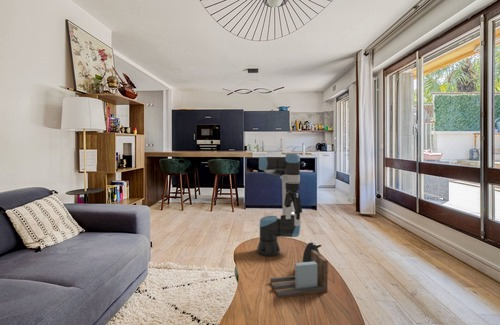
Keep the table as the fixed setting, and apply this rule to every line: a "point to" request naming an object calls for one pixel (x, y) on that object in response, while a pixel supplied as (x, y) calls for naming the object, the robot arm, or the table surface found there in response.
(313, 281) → the pale grey rectangular block
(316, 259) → the track sill
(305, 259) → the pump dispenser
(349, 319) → the table surface
